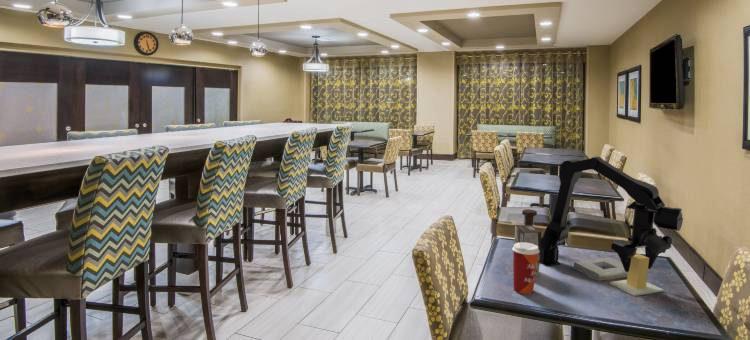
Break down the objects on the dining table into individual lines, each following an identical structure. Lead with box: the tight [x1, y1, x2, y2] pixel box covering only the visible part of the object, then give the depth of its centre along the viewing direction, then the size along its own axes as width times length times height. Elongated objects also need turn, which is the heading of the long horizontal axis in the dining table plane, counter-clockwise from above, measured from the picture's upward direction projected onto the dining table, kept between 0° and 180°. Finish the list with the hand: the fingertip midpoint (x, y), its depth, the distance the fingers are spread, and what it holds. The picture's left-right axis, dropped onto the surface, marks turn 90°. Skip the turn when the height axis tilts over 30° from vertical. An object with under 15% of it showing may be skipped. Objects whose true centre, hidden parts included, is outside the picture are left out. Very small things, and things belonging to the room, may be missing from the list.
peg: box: [626, 253, 649, 289], centre depth 157 cm, size 4×4×10 cm
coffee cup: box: [511, 242, 540, 295], centre depth 154 cm, size 8×8×15 cm
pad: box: [609, 279, 664, 297], centre depth 158 cm, size 12×10×1 cm
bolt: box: [521, 208, 537, 227], centre depth 197 cm, size 6×5×15 cm
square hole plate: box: [573, 257, 628, 282], centre depth 171 cm, size 16×12×2 cm
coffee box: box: [513, 224, 542, 278], centre depth 169 cm, size 9×6×16 cm
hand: (637, 270), depth 157 cm, fingers open, 9 cm apart
